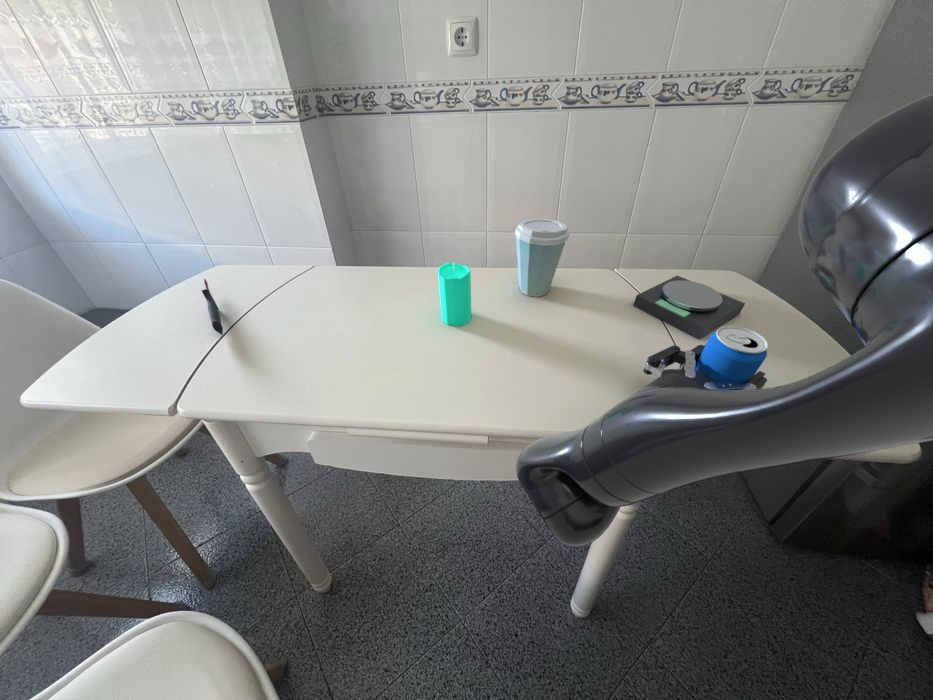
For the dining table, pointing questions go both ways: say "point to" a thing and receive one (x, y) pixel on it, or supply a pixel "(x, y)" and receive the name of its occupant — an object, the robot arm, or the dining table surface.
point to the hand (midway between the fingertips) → (732, 362)
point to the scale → (687, 311)
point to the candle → (455, 293)
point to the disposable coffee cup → (539, 253)
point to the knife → (213, 310)
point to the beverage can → (732, 354)
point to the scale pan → (692, 295)
